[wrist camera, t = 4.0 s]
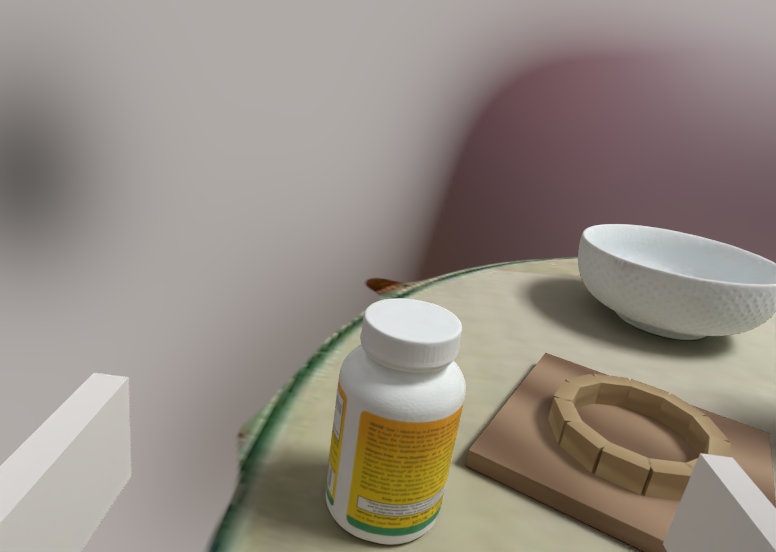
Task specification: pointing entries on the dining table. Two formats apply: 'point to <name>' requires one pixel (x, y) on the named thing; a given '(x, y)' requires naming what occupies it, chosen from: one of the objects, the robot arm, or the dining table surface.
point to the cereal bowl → (676, 281)
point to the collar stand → (610, 449)
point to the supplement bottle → (396, 422)
